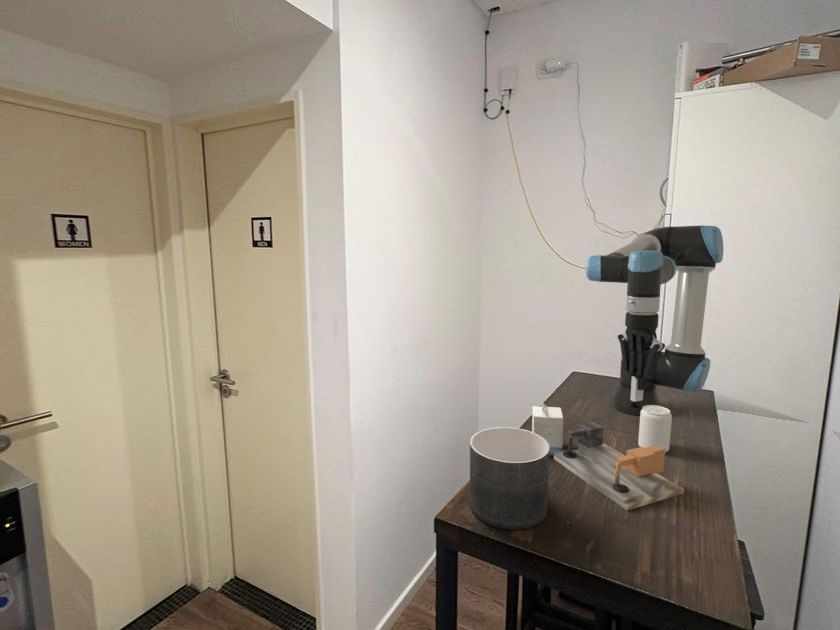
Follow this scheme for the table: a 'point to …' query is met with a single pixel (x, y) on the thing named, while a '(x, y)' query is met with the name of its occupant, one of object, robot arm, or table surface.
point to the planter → (509, 477)
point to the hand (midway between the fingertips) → (636, 400)
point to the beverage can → (655, 427)
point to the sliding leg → (641, 461)
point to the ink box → (549, 426)
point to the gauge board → (611, 470)
